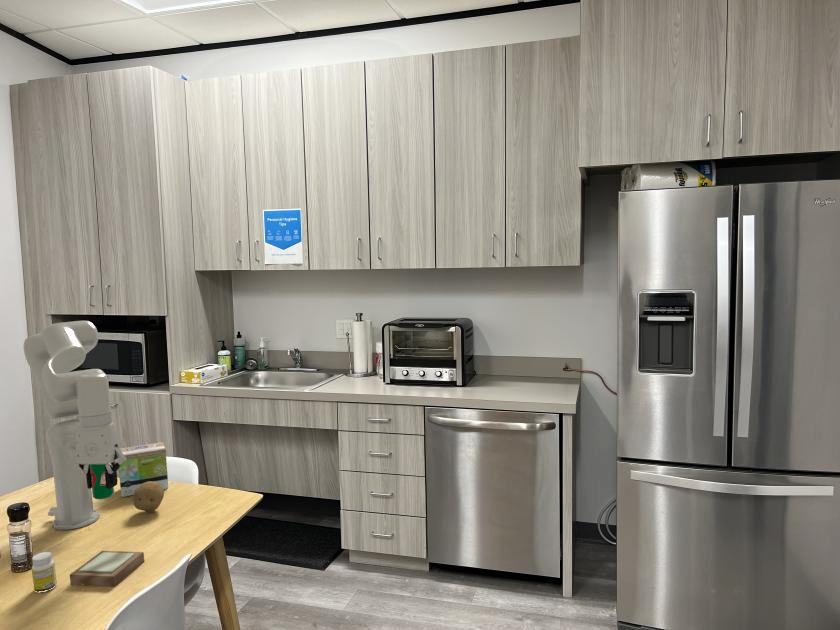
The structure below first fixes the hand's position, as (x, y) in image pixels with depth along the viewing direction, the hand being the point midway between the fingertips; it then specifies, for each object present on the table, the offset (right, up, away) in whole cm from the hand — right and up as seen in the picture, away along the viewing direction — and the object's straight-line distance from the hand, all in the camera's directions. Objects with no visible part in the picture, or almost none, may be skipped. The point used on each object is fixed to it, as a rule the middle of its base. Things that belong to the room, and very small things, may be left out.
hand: (102, 486), depth 159 cm
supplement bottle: (-7, -22, -13) cm, 26 cm away
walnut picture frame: (+5, -20, -7) cm, 22 cm away
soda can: (0, -3, 0) cm, 3 cm away
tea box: (-12, -16, +50) cm, 54 cm away
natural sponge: (-1, -17, +29) cm, 34 cm away
